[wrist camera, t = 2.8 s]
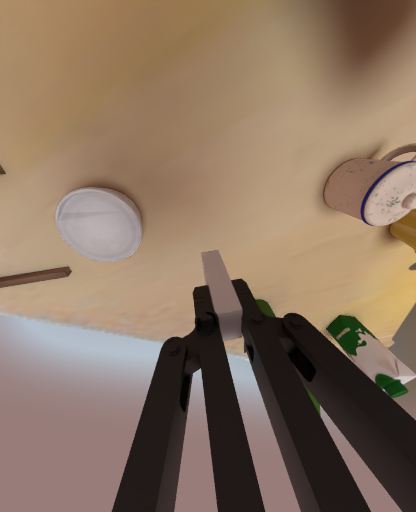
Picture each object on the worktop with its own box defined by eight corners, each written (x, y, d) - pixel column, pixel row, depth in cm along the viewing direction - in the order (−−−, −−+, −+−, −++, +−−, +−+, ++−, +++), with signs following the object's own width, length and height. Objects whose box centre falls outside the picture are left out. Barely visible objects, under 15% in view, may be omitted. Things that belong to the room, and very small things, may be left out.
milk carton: (339, 312, 55) (409, 385, 39) (359, 315, 58) (432, 384, 41) (322, 330, 59) (378, 402, 43) (341, 331, 62) (401, 400, 46)
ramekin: (104, 164, 25) (89, 168, 21) (160, 220, 31) (158, 233, 26) (57, 212, 28) (34, 226, 23) (117, 257, 33) (108, 274, 29)
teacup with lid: (338, 217, 36) (398, 244, 26) (312, 193, 32) (370, 215, 23) (393, 160, 31) (491, 168, 22) (369, 126, 28) (474, 117, 18)
